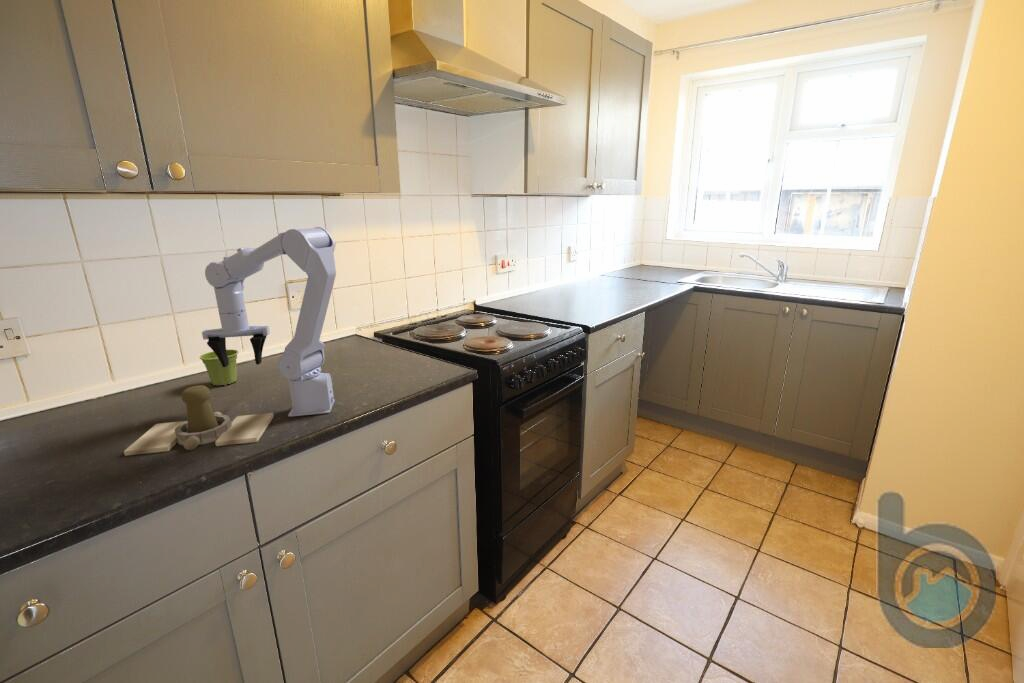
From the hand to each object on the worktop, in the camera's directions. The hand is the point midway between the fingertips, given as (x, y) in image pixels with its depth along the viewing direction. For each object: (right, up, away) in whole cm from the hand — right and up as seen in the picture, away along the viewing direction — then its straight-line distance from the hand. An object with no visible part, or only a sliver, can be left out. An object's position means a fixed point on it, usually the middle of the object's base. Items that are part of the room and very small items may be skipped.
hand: (242, 364), depth 120 cm
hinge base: (0, -15, -14) cm, 20 cm away
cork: (-1, -15, -13) cm, 20 cm away
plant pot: (-15, -6, +18) cm, 24 cm away
